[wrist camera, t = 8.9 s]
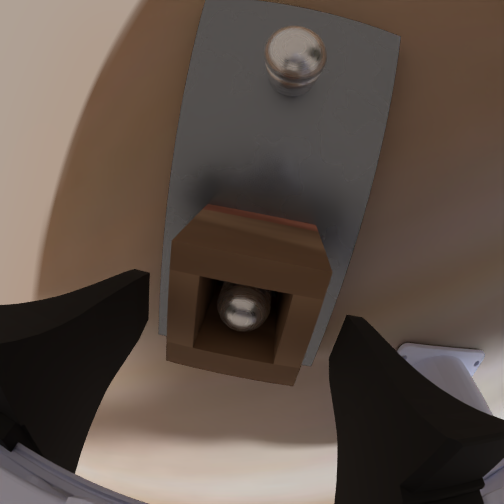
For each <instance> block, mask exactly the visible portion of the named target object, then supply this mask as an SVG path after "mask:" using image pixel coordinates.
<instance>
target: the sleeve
mask: <svg viewBox="0 0 504 504" xmlns="http://www.w3.org/2000/svg"><path fill="white" fill-rule="evenodd" d="M331 276H332V269H331V266H330V263H329V260H328V257H327V254H326V252H325V249H324V246H323V243H322V240H321V237H320V235H319V232H318V229H317V226H316V225H313V224H308V223H303V222H299V221H294V220H289V219H284V218H279V217H274V216H269V215H264V214H259V213H254V212H248V211H243V210H238V209H232V208H227V207H222V206H216V205H211V204H207V205H206V206H205V207H204V208H203V209H202V210H201V211H200V212H199V213H198V214H197V215H196V216H195V217H194V218H193V219H192V220H191V221H190V222H189V223H188V224H187V225H186V226H185V227H184V228H183V229H182V230H181V231H180V232H179V233H178V234H177V236H176V237H175V238H174V239H173V240H172V244H171V257H170V271H169V288H168V310H167V344H166V360H167V361H170V362H174V363H178V364H182V365H186V366H190V367H194V368H199V369H203V370H207V371H212V372H216V373H221V374H226V375H231V376H236V377H241V378H246V379H252V380H257V381H263V382H269V383H275V384H282V385H289V386H293V385H294V383H295V380H296V378H297V375H298V372H299V370H300V367H301V364H302V362H303V359H304V356H305V353H306V351H307V348H308V345H309V342H310V339H311V337H312V334H313V331H314V328H315V325H316V322H317V319H318V316H319V313H320V310H321V307H322V304H323V301H324V298H325V295H326V292H327V289H328V285H329V282H330V279H331ZM218 280H222V281H227V282H232V283H236V284H241V285H246V286H251V287H257V288H262V289H267V290H272V291H277V292H278V293H277V297H274V296H271V308H270V313H269V316H268V318H267V319H266V321H265V322H264V323H263V324H262V325H261V326H260V327H258V328H256V329H254V330H251V331H246V332H242V331H236V330H234V329H231V328H230V327H228V326H227V325H226V324H225V323H224V322H223V321H222V319H221V318H220V316H219V313H218V309H217V301H218V297H219V294H220V291H221V289H222V286H219V285H218Z"/></svg>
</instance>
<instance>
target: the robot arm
mask: <svg viewBox="0 0 504 504" xmlns="http://www.w3.org/2000/svg"><path fill="white" fill-rule="evenodd" d="M149 278H150V273H148V272H144V271H140V270H136V269H134V270H130V271H127V272H124V273H121V274H119V275H116V276H114V277H111V278H109V279H106V280H103V281H101V282H98V283H96V284H93V285H91V286H88V287H85V288H82V289H79V290H76V291H73V292H70V293H67V294H64V295H60V296H57V297H52V298H48V299H44V300H39V301H33V302H27V303H20V304H11V305H0V504H148V503H145V502H142V501H139V500H136V499H133V498H130V497H127V496H125V495H122V494H119V493H117V492H114V491H112V490H109V489H107V488H104V487H102V486H100V485H97V484H95V483H93V482H91V481H88V480H86V479H84V478H82V477H80V476H78V475H76V474H75V471H76V468H77V464H78V461H79V458H80V454H81V451H82V448H83V445H84V442H85V440H86V437H87V434H88V431H89V429H90V426H91V424H92V421H93V419H94V416H95V414H96V412H97V409H98V407H99V405H100V403H101V401H102V399H103V396H104V394H105V392H106V390H107V388H108V387H109V385H110V383H111V381H112V380H113V378H114V377H115V375H116V374H117V372H118V371H119V369H120V367H121V366H122V364H123V363H124V361H125V360H126V358H127V357H128V355H129V354H130V352H131V351H132V349H133V348H134V346H135V345H136V343H137V342H138V340H139V338H140V336H141V334H142V332H143V330H144V328H145V325H146V323H147V321H148V314H149ZM403 355H405V356H404V357H402V356H403ZM484 357H485V353H484V352H483V351H482V350H474V349H462V348H451V347H440V346H431V345H422V344H413V343H405V344H403V345H401V346H400V347H399V349H398V351H396V350H395V349H394V348H393V347H392V346H391V345H390V344H389V343H388V342H387V341H386V340H385V339H384V338H383V337H382V336H381V335H380V334H379V333H378V332H377V331H376V330H375V329H374V328H373V327H372V326H371V325H370V324H369V323H368V322H367V321H366V320H365V319H363V318H362V317H357V316H351V315H347V316H346V318H345V321H344V323H343V326H342V328H341V331H340V333H339V335H338V338H337V340H336V343H335V345H334V347H333V350H332V352H331V354H330V357H329V381H330V388H331V395H332V402H333V408H334V415H335V422H336V429H337V441H338V458H337V482H336V493H335V503H334V504H504V420H503V419H500V418H497V417H495V416H493V414H492V412H491V410H490V408H489V406H488V405H487V403H486V401H485V399H484V397H483V396H482V394H481V392H480V390H479V388H478V387H477V385H476V383H475V382H474V380H473V378H472V376H473V374H474V373H475V371H476V370H477V368H478V367H479V365H480V364H481V362H482V361H483V359H484Z"/></svg>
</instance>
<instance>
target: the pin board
mask: <svg viewBox="0 0 504 504" xmlns="http://www.w3.org/2000/svg"><path fill="white" fill-rule="evenodd" d="M400 39H401V36H398V35H396V34H393V33H390V32H388V31H385V30H382V29H379V28H376V27H373V26H370V25H367V24H364V23H361V22H358V21H354V20H351V19H348V18H344V17H340V16H337V15H333V14H329V13H325V12H320V11H316V10H311V9H307V8H302V7H297V6H291V5H285V4H279V3H273V2H266V1H258V0H205V4H204V7H203V11H202V15H201V19H200V22H199V26H198V30H197V35H196V39H195V43H194V47H193V51H192V56H191V60H190V65H189V70H188V74H187V79H186V84H185V89H184V95H183V100H182V105H181V111H180V117H179V122H178V128H177V135H176V141H175V147H174V154H173V161H172V168H171V176H170V184H169V192H168V201H167V210H166V220H165V230H164V242H163V254H162V268H161V284H160V305H159V334H160V335H164V336H167V310H168V288H169V271H170V257H171V244H172V240H173V239H174V238H175V237H176V236H177V234H178V233H179V232H180V231H181V230H182V229H183V228H184V227H185V226H186V225H187V224H188V223H189V222H190V221H191V220H192V219H193V218H194V217H195V216H196V215H197V214H198V213H199V212H200V211H201V210H202V209H203V208H204V207H205V206H206V205H207V204H211V205H216V206H222V207H227V208H232V209H238V210H243V211H248V212H254V213H259V214H264V215H269V216H274V217H279V218H284V219H289V220H294V221H299V222H303V223H308V224H313V225H316V226H317V229H318V232H319V235H320V237H321V240H322V243H323V246H324V249H325V252H326V254H327V257H328V260H329V263H330V266H331V269H332V276H331V279H330V282H329V285H328V289H327V292H326V295H325V298H324V301H323V304H322V307H321V310H320V313H319V316H318V319H317V322H316V325H315V328H314V331H313V334H312V337H311V339H310V342H309V345H308V348H307V351H306V353H305V356H304V359H303V362H302V364H301V365H306V366H311V365H312V363H313V360H314V358H315V355H316V353H317V350H318V348H319V345H320V343H321V340H322V338H323V335H324V333H325V330H326V327H327V325H328V322H329V319H330V317H331V314H332V311H333V308H334V306H335V303H336V300H337V297H338V295H339V292H340V289H341V286H342V283H343V280H344V277H345V274H346V271H347V268H348V265H349V262H350V259H351V256H352V253H353V249H354V246H355V243H356V240H357V237H358V233H359V230H360V226H361V223H362V220H363V216H364V213H365V209H366V206H367V202H368V198H369V195H370V191H371V187H372V183H373V179H374V175H375V171H376V167H377V163H378V159H379V155H380V150H381V146H382V142H383V137H384V133H385V128H386V123H387V118H388V113H389V108H390V103H391V97H392V92H393V86H394V80H395V74H396V68H397V61H398V54H399V47H400ZM218 285H219V286H222V289H221V291H220V294H219V297H218V301H217V309H218V313H219V316H220V318H221V319H222V321H223V322H224V323H225V324H226V325H227V326H228V327H230V328H231V329H234V330H236V331H242V332H246V331H251V330H254V329H256V328H258V327H260V326H261V325H262V324H263V323H264V322H265V321H266V319H267V318H268V316H269V313H270V308H271V296H274V297H277V293H278V292H277V291H272V290H267V289H262V288H257V287H251V286H246V285H241V284H236V283H232V282H227V281H222V280H218Z"/></svg>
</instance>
